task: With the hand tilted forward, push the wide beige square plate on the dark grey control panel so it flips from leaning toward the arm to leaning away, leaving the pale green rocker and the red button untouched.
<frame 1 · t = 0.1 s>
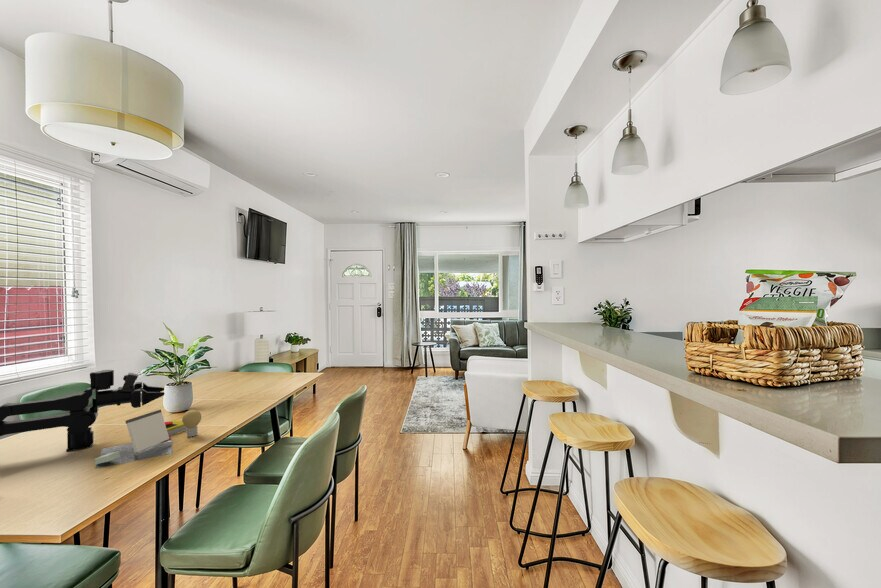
hand: (164, 391, 160), 17 cm above the table, tool horizontal, fingers open, 9 cm apart
rocker: (107, 457, 129), point 3 cm above the table, hinge at -15.0°
beige square plate: (148, 430, 139), point 8 cm above the table, hinge at -20.0°
panel: (136, 453, 139), on the table
light bulb: (192, 436, 156), on the table
emergency button: (169, 433, 161), on the table
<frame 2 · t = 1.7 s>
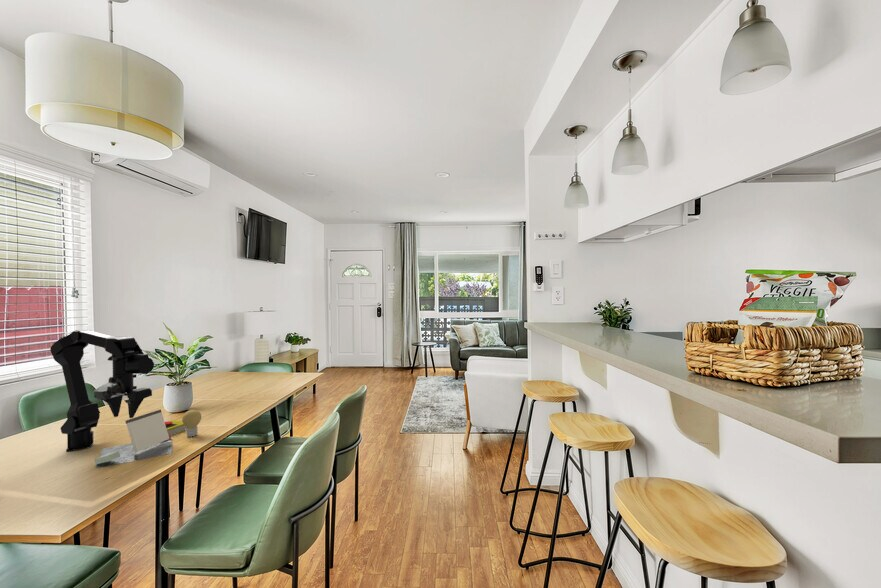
hand: (123, 417, 141), 12 cm above the table, tool pointing down, fingers open, 6 cm apart
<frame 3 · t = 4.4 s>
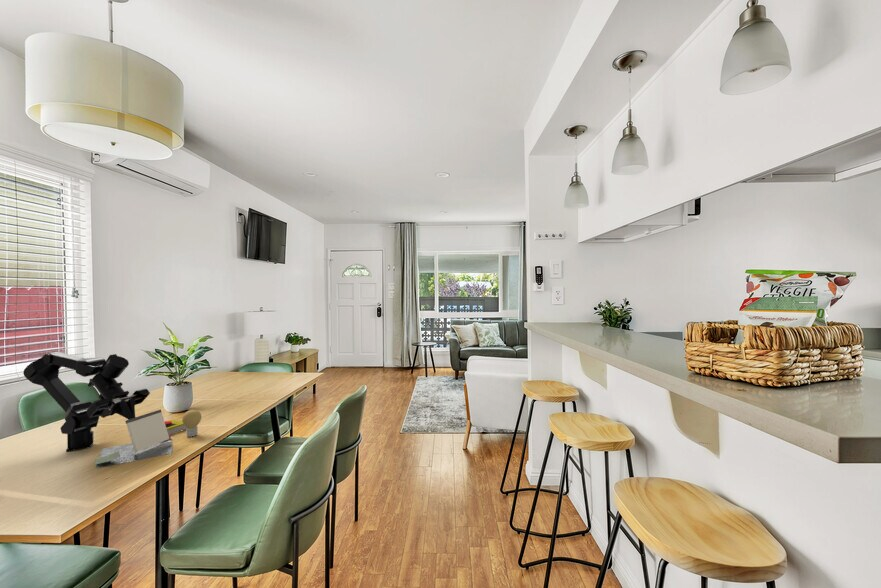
hand: (133, 420, 140), 11 cm above the table, tool tilted 45°, fingers closed
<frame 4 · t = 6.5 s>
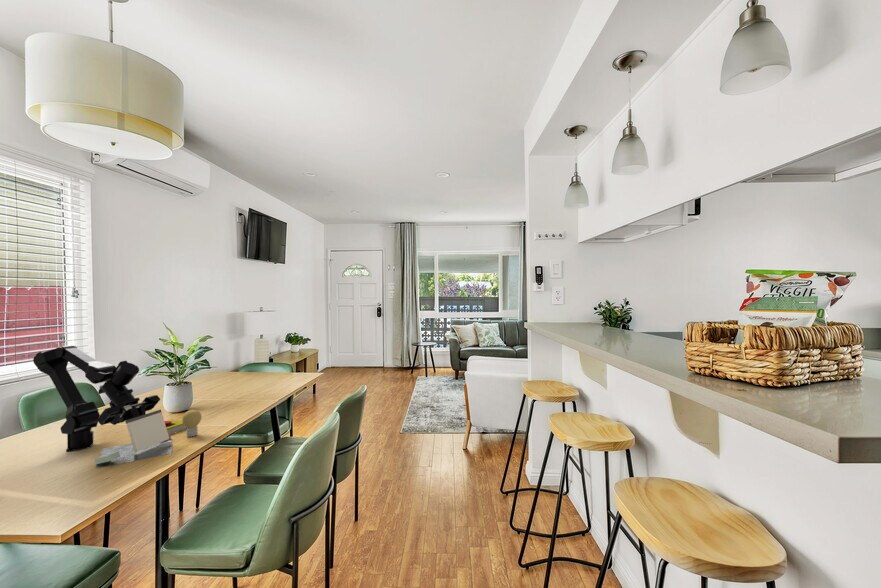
hand: (144, 427, 139), 9 cm above the table, tool tilted 45°, fingers closed, pressing on beige square plate
beige square plate: (148, 430, 139), point 8 cm above the table, hinge at -19.9°, touching gripper
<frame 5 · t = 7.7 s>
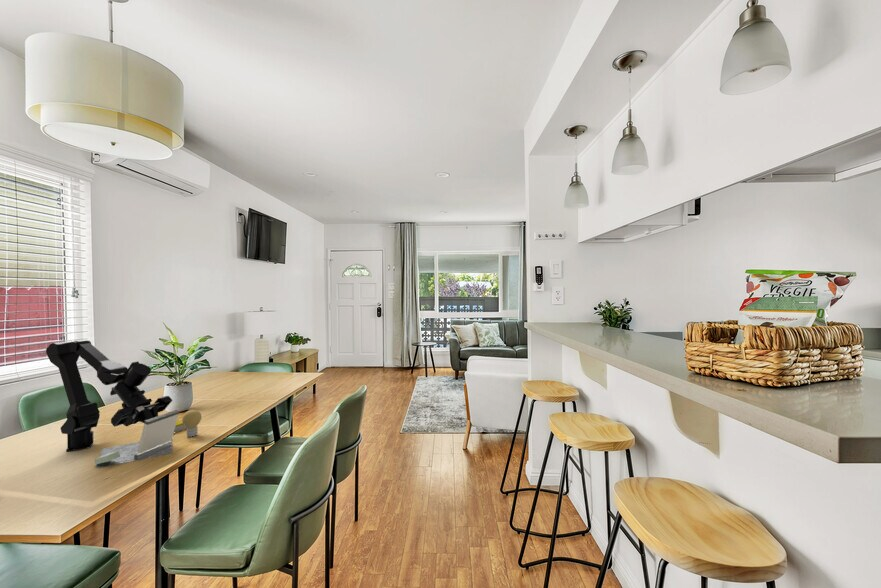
hand: (157, 428, 138), 9 cm above the table, tool tilted 45°, fingers closed, pressing on beige square plate
beige square plate: (159, 430, 138), point 8 cm above the table, hinge at 17.4°, touching gripper
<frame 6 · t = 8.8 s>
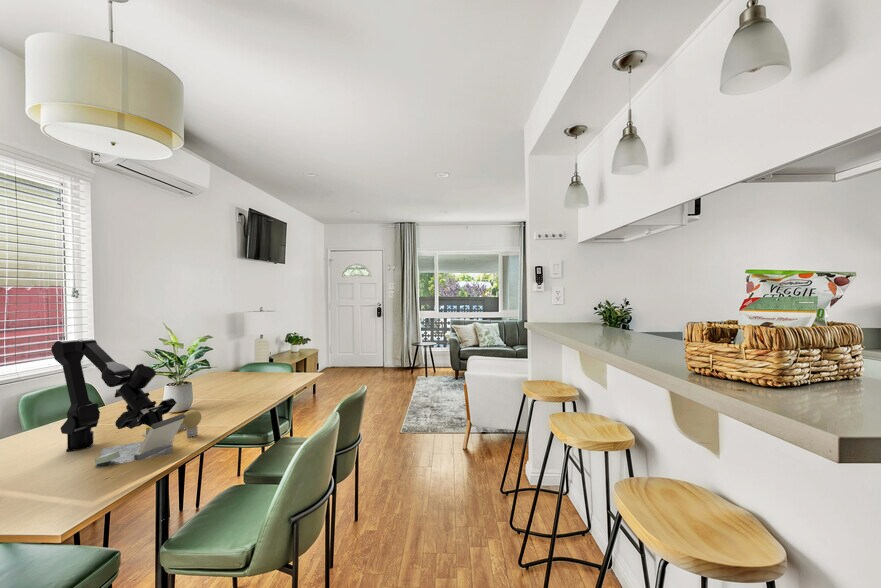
hand: (162, 430, 137), 8 cm above the table, tool tilted 45°, fingers closed, pressing on beige square plate
beige square plate: (162, 433, 137), point 8 cm above the table, hinge at 31.5°, touching gripper
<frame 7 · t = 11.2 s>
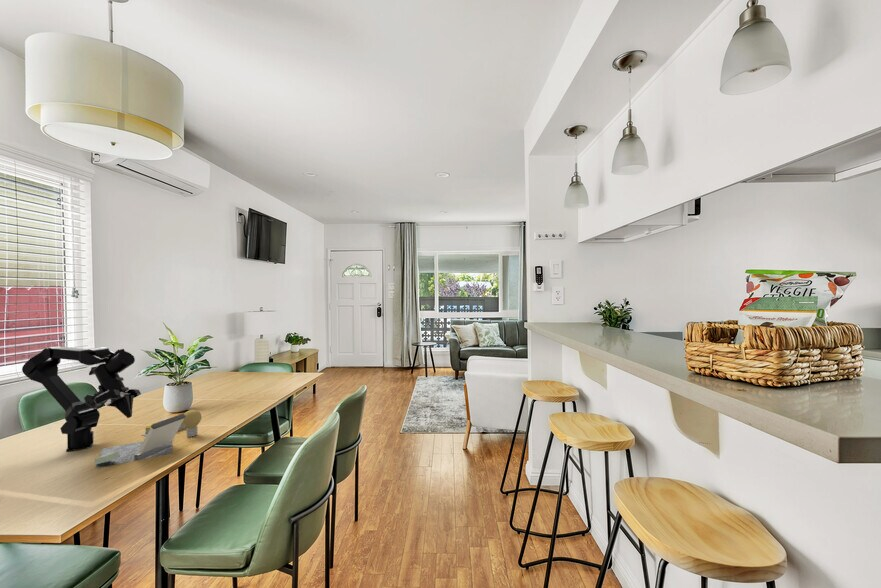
hand: (129, 417, 142), 12 cm above the table, tool tilted 30°, fingers closed
beige square plate: (162, 433, 137), point 8 cm above the table, hinge at 31.5°
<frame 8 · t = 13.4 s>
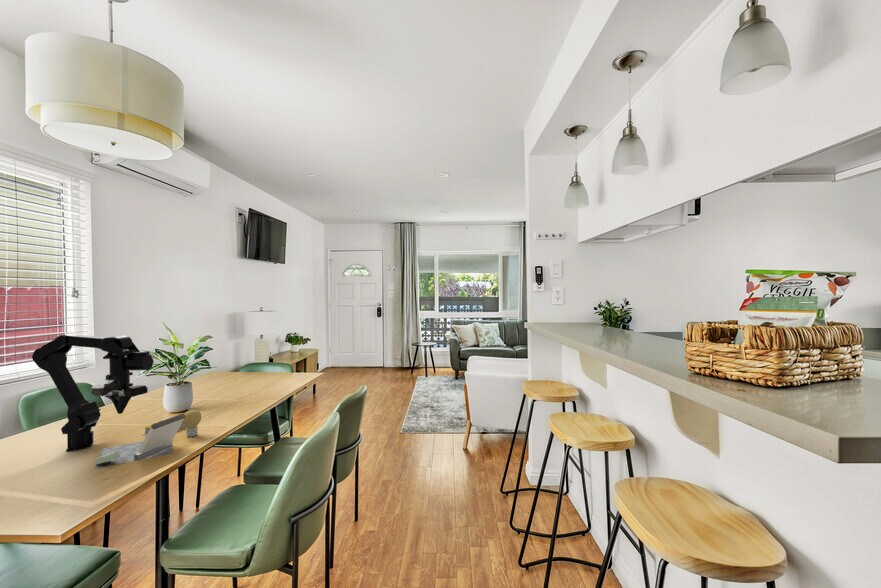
hand: (120, 413, 146), 12 cm above the table, tool pointing down, fingers closed
at the end: beige square plate at +32° (first picture: -20°); rocker at -15° (first picture: -15°); light bulb moved 0.2 cm from its start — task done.
